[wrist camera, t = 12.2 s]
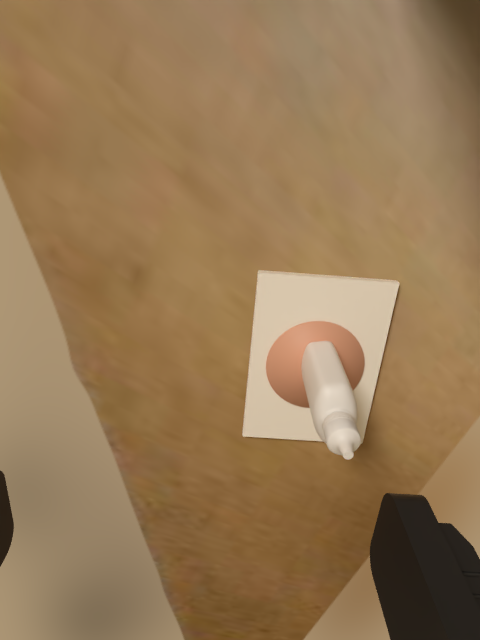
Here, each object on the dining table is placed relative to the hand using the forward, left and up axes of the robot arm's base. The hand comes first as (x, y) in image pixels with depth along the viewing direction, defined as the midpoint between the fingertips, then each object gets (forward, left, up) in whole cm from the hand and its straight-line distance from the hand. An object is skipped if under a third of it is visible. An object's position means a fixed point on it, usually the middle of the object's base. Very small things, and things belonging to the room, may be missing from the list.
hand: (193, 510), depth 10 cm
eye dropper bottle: (+12, +9, -29) cm, 33 cm away
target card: (+12, +9, -30) cm, 33 cm away
